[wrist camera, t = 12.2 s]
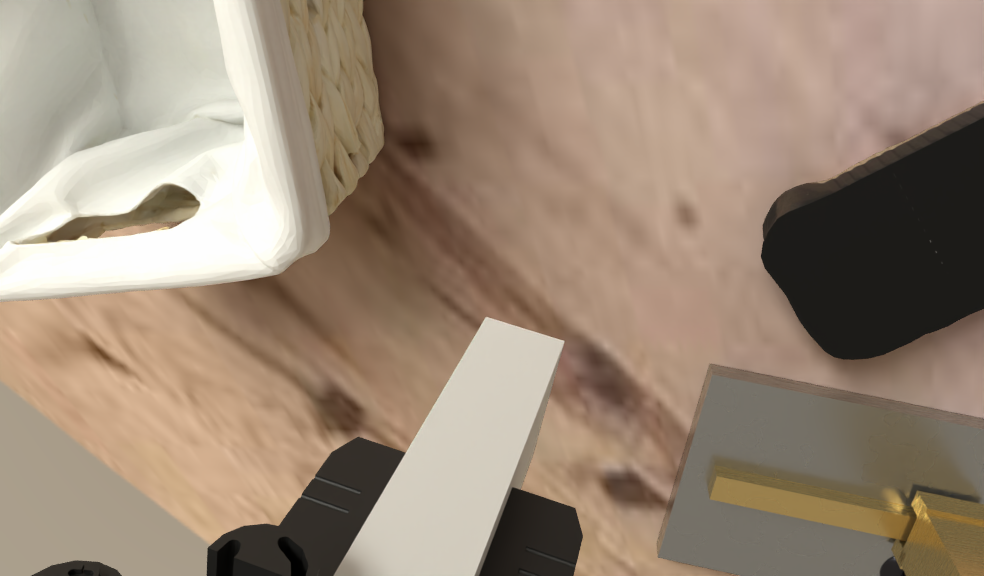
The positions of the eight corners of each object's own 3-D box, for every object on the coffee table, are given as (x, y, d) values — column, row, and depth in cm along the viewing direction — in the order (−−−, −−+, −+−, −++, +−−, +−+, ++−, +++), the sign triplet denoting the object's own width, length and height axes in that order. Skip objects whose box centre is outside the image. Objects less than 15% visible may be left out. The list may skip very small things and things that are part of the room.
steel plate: (709, 363, 43) (712, 375, 42) (1309, 484, 41) (1329, 500, 40) (656, 543, 48) (657, 558, 47) (1192, 659, 46) (1207, 678, 45)
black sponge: (815, 344, 42) (832, 378, 39) (742, 206, 40) (754, 229, 37) (1162, 193, 37) (1216, 217, 34) (1100, 25, 35) (1152, 34, 32)
